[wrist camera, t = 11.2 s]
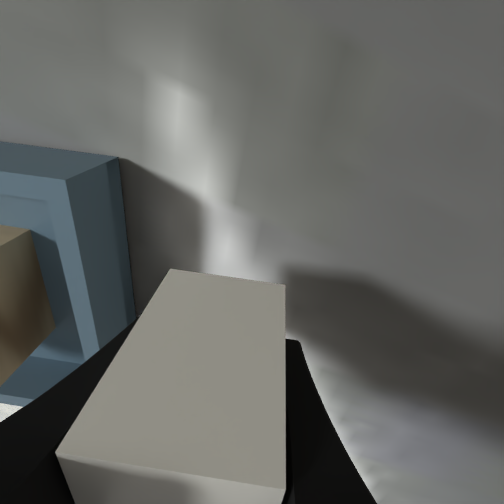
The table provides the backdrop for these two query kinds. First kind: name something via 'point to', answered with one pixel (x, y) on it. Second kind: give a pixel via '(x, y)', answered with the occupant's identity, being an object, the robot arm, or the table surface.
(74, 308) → the tote
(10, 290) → the oak block
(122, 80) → the table surface
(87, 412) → the cream carton
